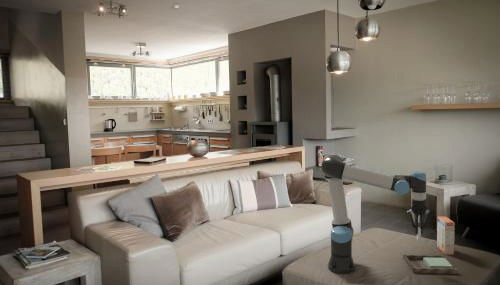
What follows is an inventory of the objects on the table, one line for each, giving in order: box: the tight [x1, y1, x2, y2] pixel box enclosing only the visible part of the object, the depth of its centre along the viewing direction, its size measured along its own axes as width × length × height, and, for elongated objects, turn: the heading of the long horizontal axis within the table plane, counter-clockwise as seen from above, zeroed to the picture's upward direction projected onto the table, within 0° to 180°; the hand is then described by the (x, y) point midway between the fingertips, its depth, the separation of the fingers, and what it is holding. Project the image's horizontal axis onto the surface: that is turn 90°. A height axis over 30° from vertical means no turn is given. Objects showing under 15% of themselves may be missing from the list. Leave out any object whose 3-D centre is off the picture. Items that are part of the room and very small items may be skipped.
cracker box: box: [436, 215, 456, 256], centre depth 245 cm, size 14×6×21 cm, turn 172°
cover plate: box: [423, 257, 453, 268], centre depth 223 cm, size 12×12×2 cm
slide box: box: [402, 254, 459, 275], centre depth 224 cm, size 23×20×3 cm
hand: (418, 239), depth 223 cm, fingers closed
